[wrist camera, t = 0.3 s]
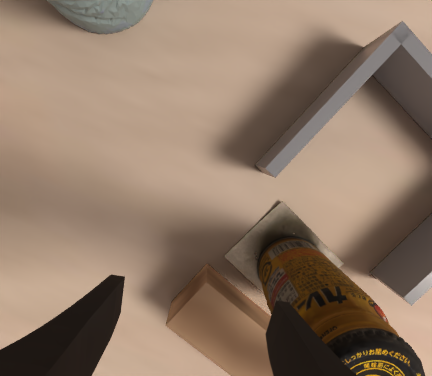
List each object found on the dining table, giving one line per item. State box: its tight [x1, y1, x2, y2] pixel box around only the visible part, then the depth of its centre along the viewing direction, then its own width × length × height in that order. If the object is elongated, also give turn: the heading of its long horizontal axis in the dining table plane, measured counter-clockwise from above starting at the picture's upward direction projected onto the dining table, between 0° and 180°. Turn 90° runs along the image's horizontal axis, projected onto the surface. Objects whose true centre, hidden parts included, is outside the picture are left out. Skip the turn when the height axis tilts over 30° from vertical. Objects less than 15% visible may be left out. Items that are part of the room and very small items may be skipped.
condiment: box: [224, 201, 425, 376], centre depth 17 cm, size 7×8×12 cm
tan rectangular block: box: [166, 264, 273, 376], centre depth 22 cm, size 5×10×4 cm, turn 48°
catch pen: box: [255, 21, 432, 306], centre depth 19 cm, size 13×16×4 cm
